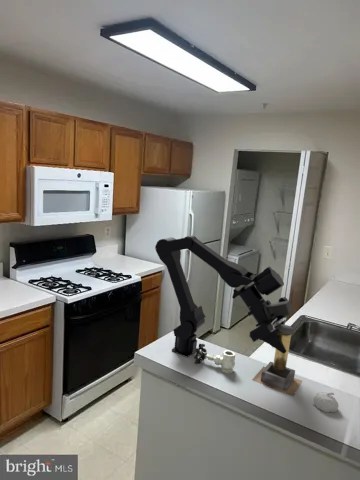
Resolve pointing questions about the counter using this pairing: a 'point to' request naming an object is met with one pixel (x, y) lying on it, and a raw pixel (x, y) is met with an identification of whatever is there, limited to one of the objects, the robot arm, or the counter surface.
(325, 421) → the counter surface
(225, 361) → the valve
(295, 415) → the counter surface
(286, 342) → the grey-topped tan cylinder
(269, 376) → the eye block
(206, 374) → the counter surface
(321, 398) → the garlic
